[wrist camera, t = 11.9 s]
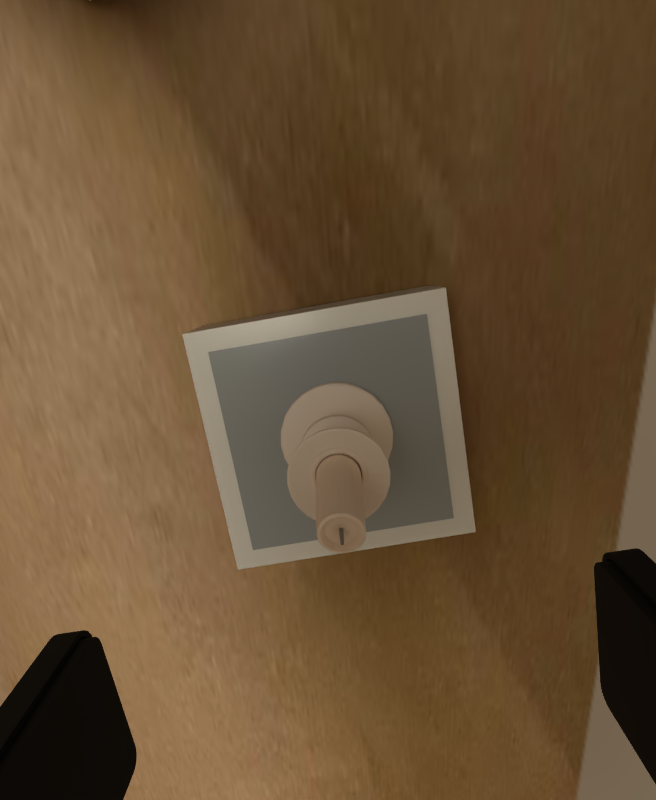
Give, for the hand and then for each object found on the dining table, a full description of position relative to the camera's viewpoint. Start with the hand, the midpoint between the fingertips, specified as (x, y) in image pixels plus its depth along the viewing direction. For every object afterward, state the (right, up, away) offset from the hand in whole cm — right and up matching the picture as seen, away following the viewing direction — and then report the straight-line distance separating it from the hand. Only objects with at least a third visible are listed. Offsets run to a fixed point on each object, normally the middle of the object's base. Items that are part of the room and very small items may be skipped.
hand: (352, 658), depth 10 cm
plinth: (0, +4, +19) cm, 20 cm away
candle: (0, +3, +16) cm, 16 cm away
